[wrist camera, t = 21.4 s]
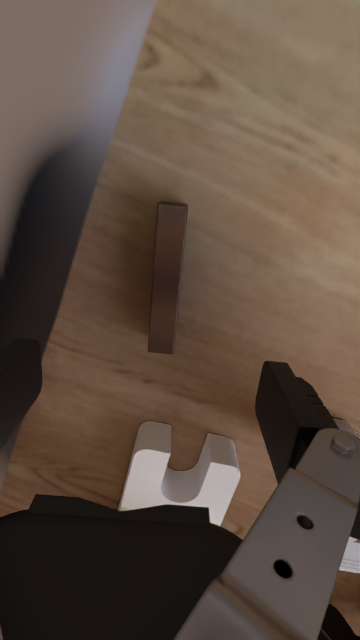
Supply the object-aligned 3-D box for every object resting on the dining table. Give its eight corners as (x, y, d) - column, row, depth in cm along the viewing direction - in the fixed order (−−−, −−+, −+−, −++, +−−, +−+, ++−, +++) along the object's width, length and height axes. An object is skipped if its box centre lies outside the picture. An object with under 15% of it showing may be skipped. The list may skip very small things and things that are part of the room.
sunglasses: (305, 613, 43) (320, 662, 38) (305, 537, 40) (322, 579, 35) (390, 609, 42) (417, 658, 37) (396, 532, 39) (426, 573, 34)
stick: (160, 201, 25) (157, 202, 22) (187, 203, 25) (188, 205, 22) (150, 336, 29) (147, 352, 26) (174, 338, 29) (173, 354, 26)
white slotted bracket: (108, 544, 38) (82, 671, 28) (141, 418, 32) (122, 524, 22) (190, 559, 39) (192, 687, 29) (237, 439, 33) (262, 549, 23)
